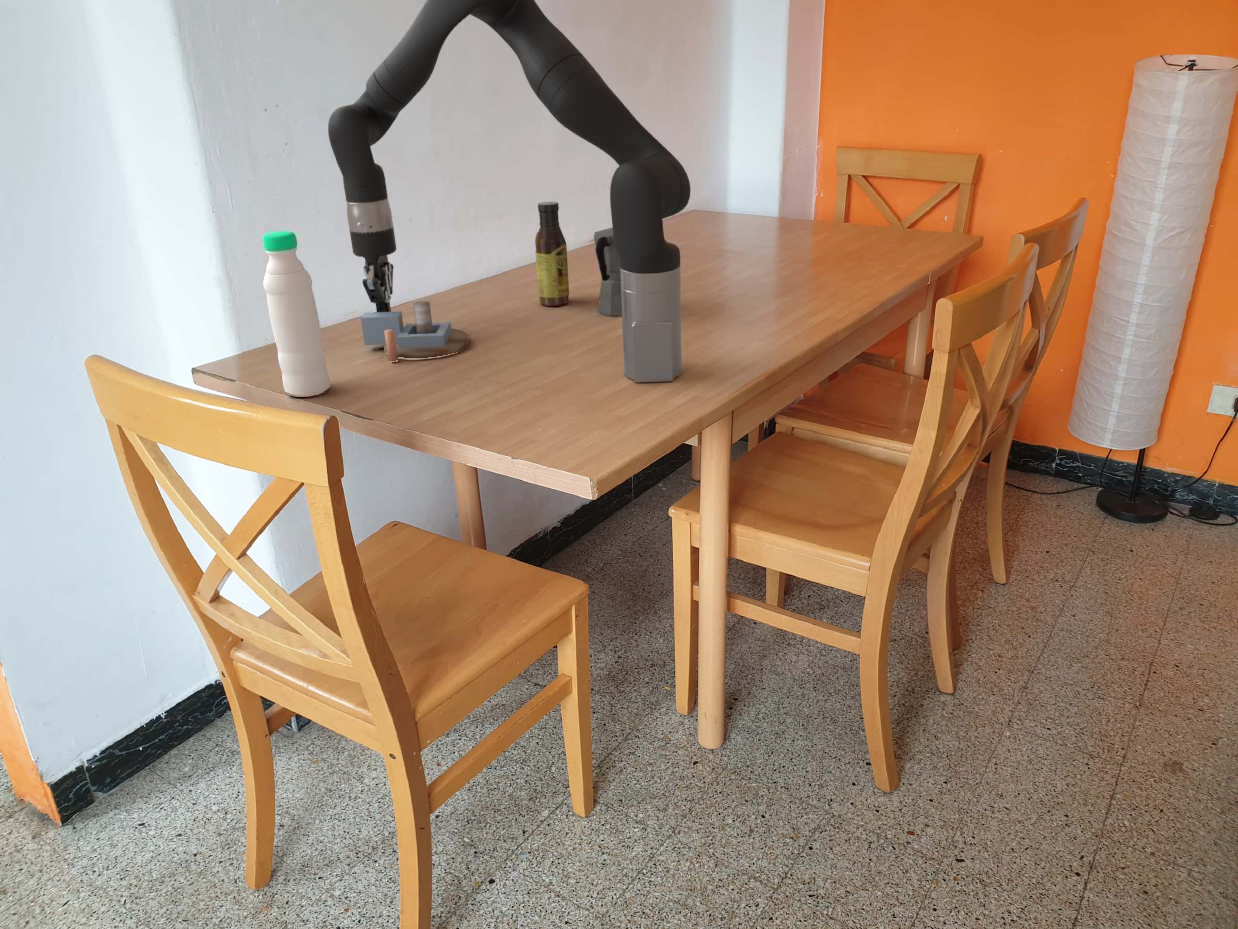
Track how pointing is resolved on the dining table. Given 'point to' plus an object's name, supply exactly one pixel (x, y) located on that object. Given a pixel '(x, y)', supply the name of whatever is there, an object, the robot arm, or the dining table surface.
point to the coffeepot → (608, 274)
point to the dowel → (391, 345)
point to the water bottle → (294, 317)
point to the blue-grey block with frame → (402, 331)
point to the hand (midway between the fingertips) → (385, 322)
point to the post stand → (424, 326)
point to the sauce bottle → (551, 257)
